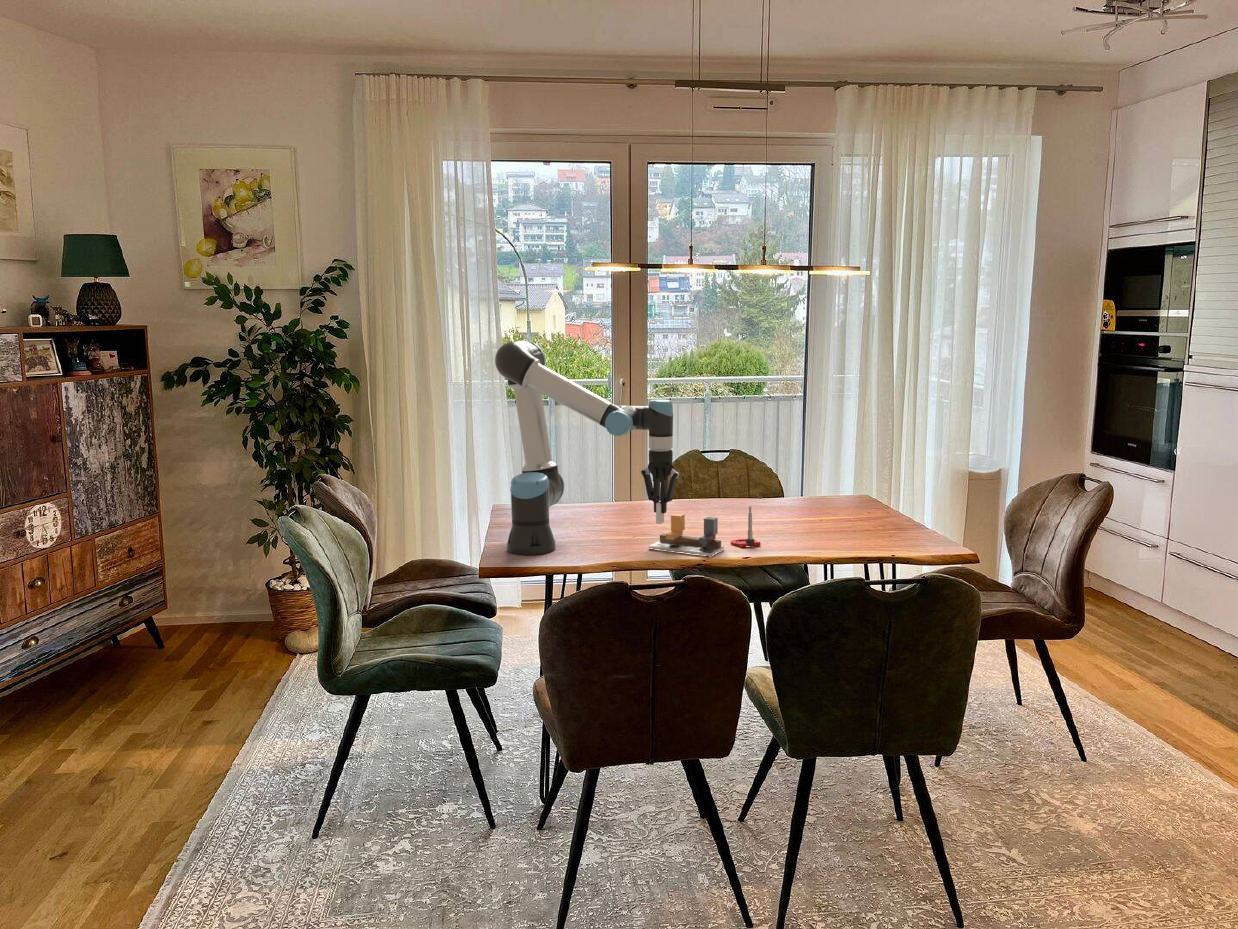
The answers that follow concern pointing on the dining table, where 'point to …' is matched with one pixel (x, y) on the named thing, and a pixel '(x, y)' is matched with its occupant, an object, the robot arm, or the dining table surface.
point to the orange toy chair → (676, 527)
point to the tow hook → (750, 540)
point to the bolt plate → (687, 545)
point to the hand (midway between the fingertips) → (660, 522)
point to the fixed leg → (709, 531)
